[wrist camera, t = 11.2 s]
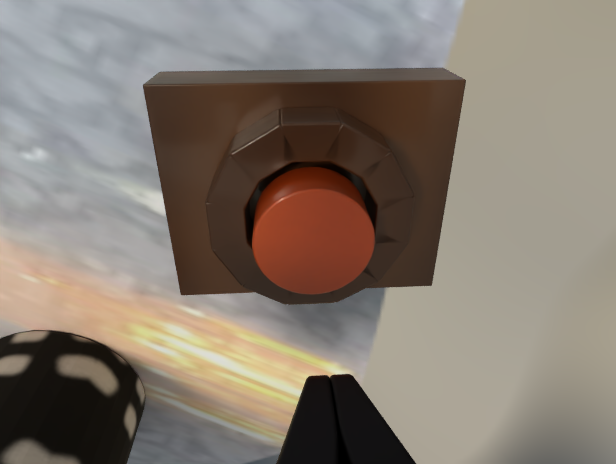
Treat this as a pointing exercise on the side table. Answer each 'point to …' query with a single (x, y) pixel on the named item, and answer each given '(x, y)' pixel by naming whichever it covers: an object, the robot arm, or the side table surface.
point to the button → (312, 231)
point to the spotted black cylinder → (66, 401)
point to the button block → (302, 164)
